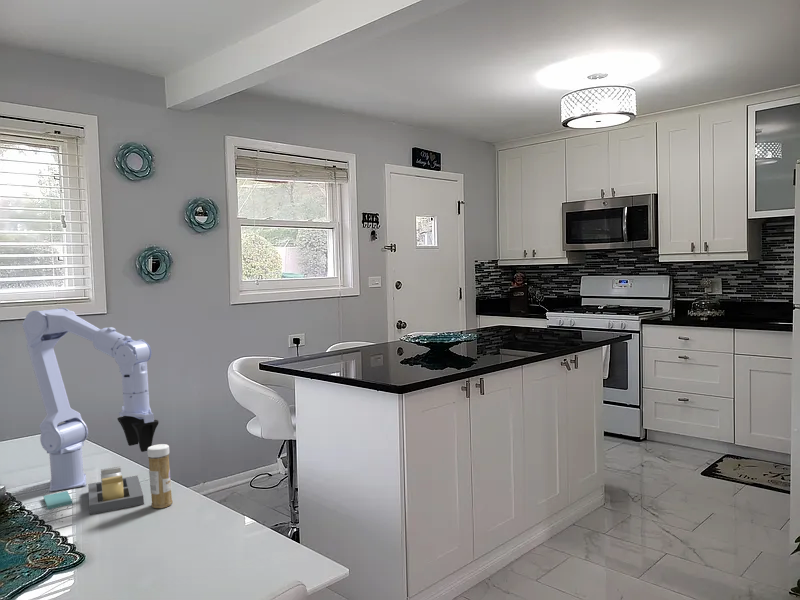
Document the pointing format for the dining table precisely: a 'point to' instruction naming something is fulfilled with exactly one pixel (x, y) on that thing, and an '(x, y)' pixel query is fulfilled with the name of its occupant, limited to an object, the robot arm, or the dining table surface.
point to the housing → (130, 490)
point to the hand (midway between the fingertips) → (139, 447)
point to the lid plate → (57, 500)
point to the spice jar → (159, 475)
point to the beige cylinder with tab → (112, 488)
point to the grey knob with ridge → (110, 472)
